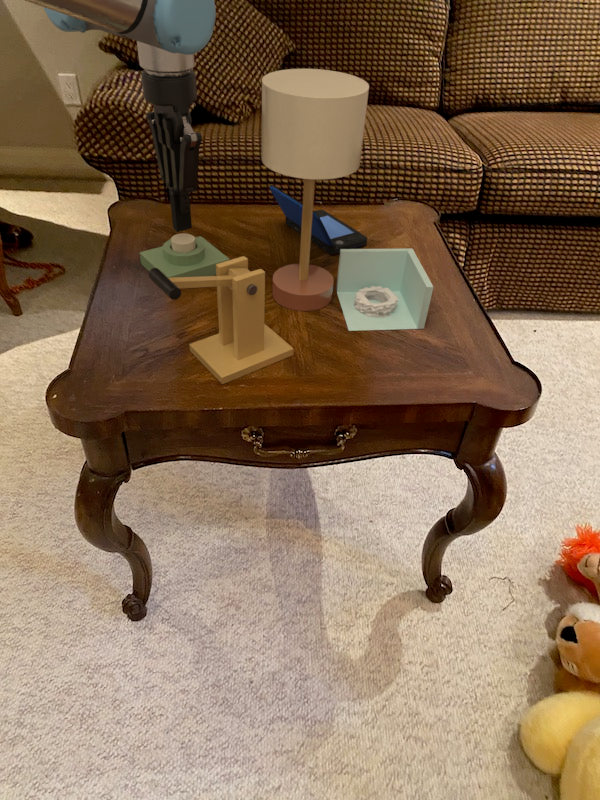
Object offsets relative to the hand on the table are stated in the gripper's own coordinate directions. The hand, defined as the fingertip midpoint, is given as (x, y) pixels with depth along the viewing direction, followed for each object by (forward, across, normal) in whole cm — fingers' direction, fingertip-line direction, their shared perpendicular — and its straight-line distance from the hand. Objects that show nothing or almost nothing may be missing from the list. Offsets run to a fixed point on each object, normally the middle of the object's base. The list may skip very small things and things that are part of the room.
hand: (182, 228), depth 97 cm
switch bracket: (+7, -26, +5) cm, 27 cm away
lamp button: (+4, 0, 0) cm, 4 cm away
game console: (+8, -3, -27) cm, 28 cm away
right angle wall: (+7, -28, -20) cm, 35 cm away
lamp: (+7, -18, -12) cm, 23 cm away
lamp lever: (-5, -26, +10) cm, 28 cm away
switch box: (+7, 0, 0) cm, 7 cm away
